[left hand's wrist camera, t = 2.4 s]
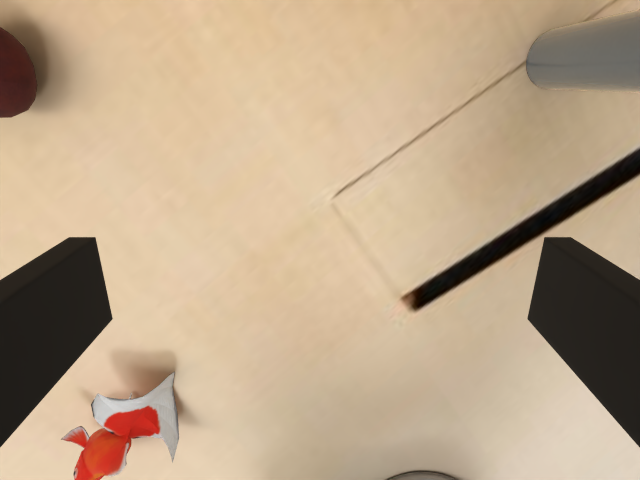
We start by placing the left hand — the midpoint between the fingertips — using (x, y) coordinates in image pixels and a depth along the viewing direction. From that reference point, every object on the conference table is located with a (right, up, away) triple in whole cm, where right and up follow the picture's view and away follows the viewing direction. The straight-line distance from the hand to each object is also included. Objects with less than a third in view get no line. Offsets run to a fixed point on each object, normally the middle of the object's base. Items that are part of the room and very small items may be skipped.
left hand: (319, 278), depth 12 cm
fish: (-22, -18, +37) cm, 47 cm away
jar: (+20, +17, +24) cm, 35 cm away
